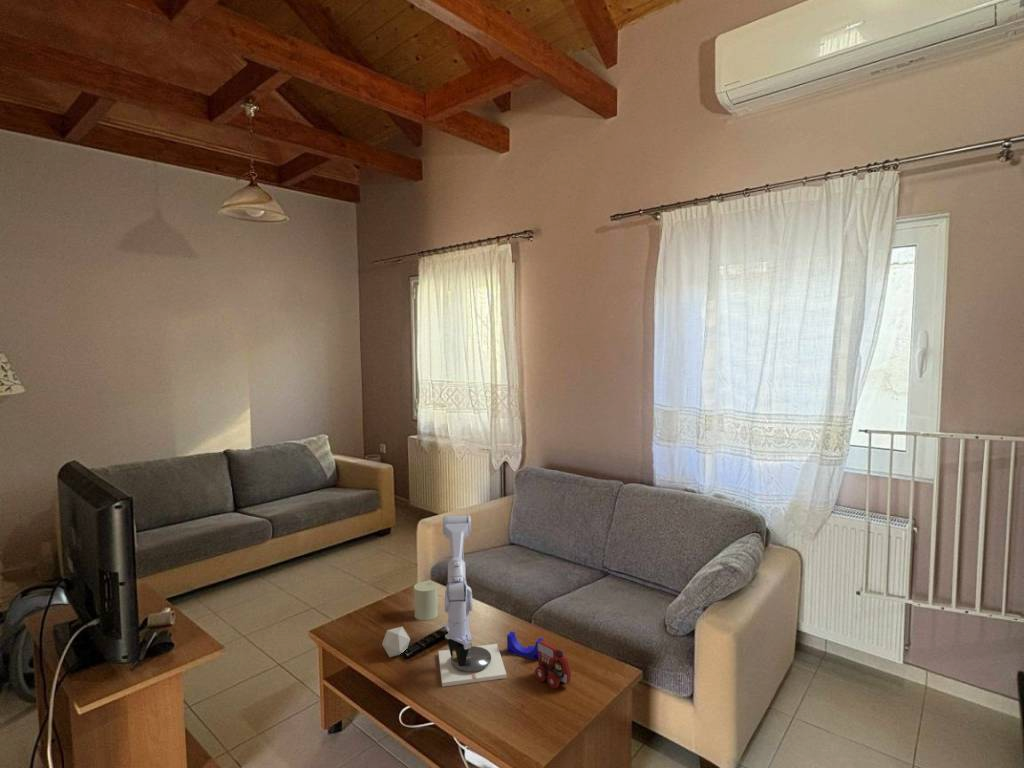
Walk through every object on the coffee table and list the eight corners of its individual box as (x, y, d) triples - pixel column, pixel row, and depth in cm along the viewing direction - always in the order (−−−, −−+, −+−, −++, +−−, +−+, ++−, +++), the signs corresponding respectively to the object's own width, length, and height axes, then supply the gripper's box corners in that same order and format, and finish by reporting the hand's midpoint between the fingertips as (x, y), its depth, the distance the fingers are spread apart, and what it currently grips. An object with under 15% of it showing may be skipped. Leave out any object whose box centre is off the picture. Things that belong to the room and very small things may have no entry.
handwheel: (486, 646, 180) (486, 634, 180) (495, 667, 168) (494, 655, 167) (448, 652, 177) (448, 640, 177) (454, 674, 164) (454, 662, 164)
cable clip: (545, 654, 179) (544, 636, 179) (540, 661, 175) (539, 643, 174) (512, 646, 184) (512, 629, 184) (507, 652, 180) (507, 635, 180)
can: (443, 612, 208) (442, 582, 208) (427, 622, 201) (426, 591, 200) (425, 607, 213) (424, 578, 213) (409, 616, 206) (408, 586, 205)
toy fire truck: (561, 693, 157) (560, 659, 157) (531, 676, 166) (530, 643, 166) (576, 683, 162) (575, 650, 162) (546, 667, 171) (545, 635, 171)
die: (407, 645, 186) (389, 623, 186) (419, 641, 181) (401, 618, 180) (390, 665, 180) (372, 641, 180) (403, 661, 174) (384, 637, 174)
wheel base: (438, 654, 179) (438, 649, 179) (496, 647, 183) (496, 642, 183) (442, 687, 161) (442, 681, 161) (506, 678, 165) (506, 673, 165)
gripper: (436, 613, 173) (437, 653, 174) (455, 632, 161) (456, 676, 162) (456, 607, 177) (456, 646, 178) (476, 626, 165) (477, 668, 165)
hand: (458, 660), depth 170 cm, fingers open, 4 cm apart
